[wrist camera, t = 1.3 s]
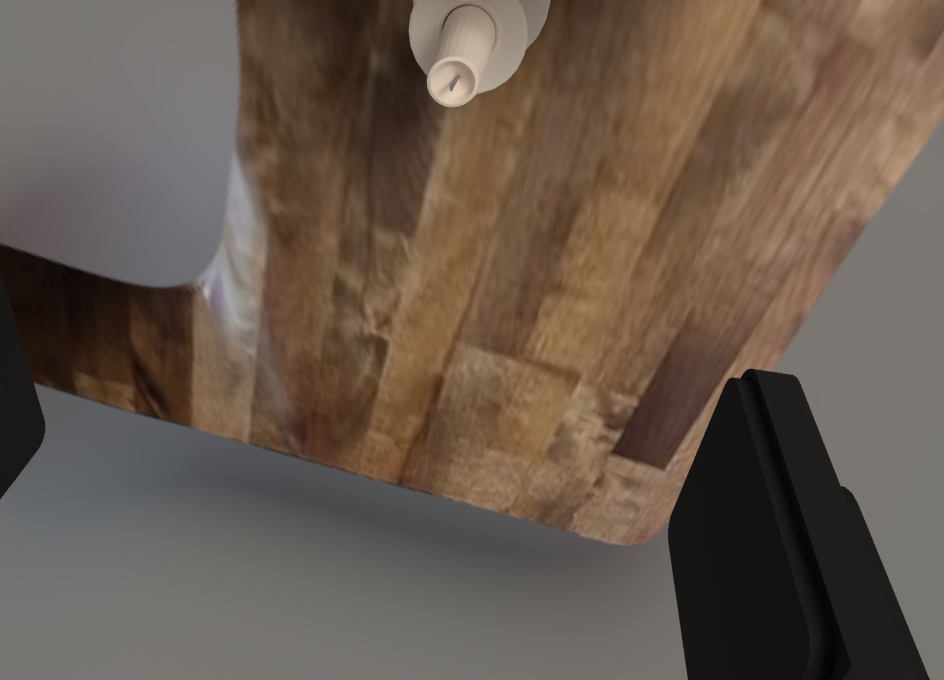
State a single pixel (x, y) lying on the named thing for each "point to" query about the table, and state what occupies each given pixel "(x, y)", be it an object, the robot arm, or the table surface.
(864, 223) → the table surface
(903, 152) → the table surface
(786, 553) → the robot arm
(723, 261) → the table surface
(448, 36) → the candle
